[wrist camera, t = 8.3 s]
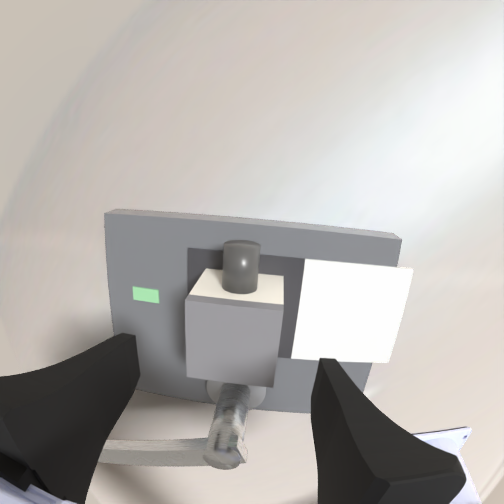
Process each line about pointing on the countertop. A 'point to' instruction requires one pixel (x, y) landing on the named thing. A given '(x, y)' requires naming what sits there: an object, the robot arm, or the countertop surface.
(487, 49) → the countertop surface
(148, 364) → the grey flat board
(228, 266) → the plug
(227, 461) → the orange-tipped grey rod
